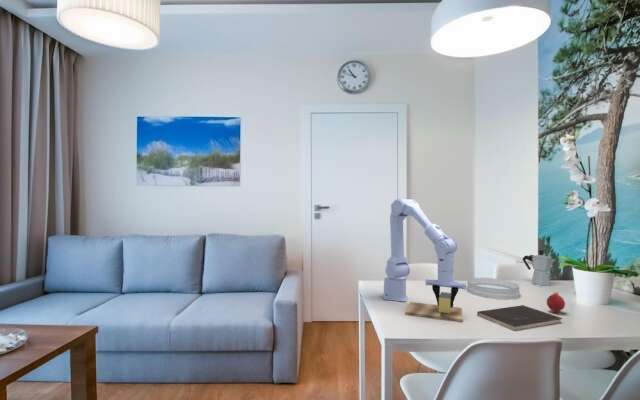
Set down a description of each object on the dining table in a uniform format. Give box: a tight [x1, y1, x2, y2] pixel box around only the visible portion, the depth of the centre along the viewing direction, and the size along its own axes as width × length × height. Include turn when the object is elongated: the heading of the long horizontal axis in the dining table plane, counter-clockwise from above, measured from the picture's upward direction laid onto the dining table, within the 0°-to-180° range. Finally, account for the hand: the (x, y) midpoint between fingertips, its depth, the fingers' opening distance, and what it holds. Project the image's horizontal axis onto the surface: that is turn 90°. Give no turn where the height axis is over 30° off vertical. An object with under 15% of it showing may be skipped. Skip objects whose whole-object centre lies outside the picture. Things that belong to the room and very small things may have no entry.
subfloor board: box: [404, 301, 464, 323], centre depth 131 cm, size 20×14×1 cm
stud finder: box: [439, 291, 451, 313], centre depth 130 cm, size 4×7×6 cm, turn 155°
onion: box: [546, 291, 566, 313], centre depth 132 cm, size 6×6×8 cm
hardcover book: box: [476, 305, 563, 331], centre depth 125 cm, size 16×23×2 cm
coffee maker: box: [522, 249, 556, 287], centre depth 177 cm, size 15×9×18 cm, turn 46°
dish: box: [466, 277, 520, 301], centre depth 160 cm, size 22×22×5 cm
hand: (445, 305), depth 130 cm, fingers closed on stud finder, 4 cm apart
